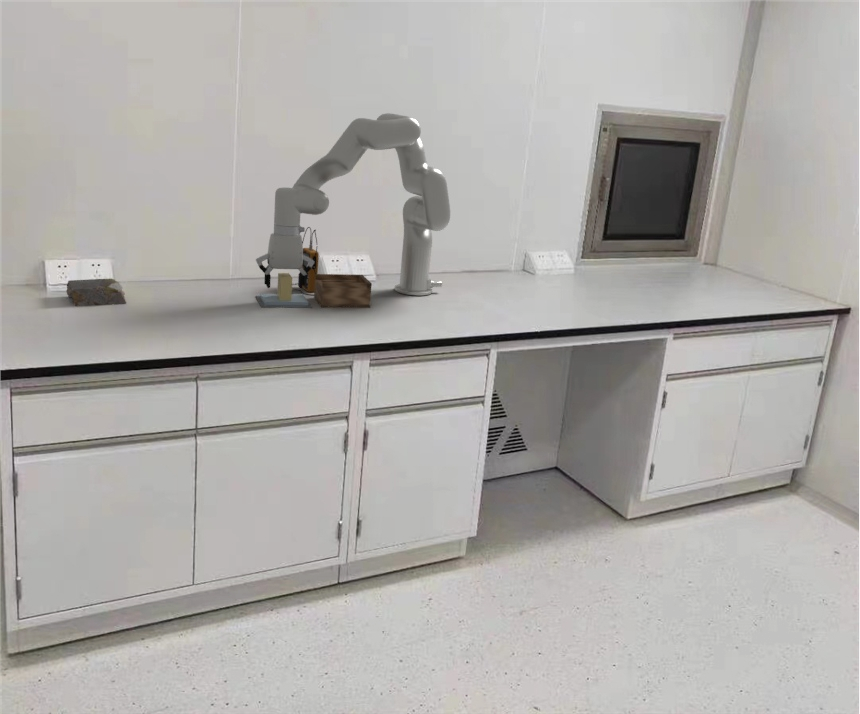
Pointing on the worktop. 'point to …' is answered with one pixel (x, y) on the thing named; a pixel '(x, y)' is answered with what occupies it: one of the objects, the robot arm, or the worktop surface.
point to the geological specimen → (95, 292)
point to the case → (342, 290)
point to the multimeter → (310, 275)
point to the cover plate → (277, 302)
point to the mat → (283, 305)
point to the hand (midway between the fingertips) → (284, 287)
